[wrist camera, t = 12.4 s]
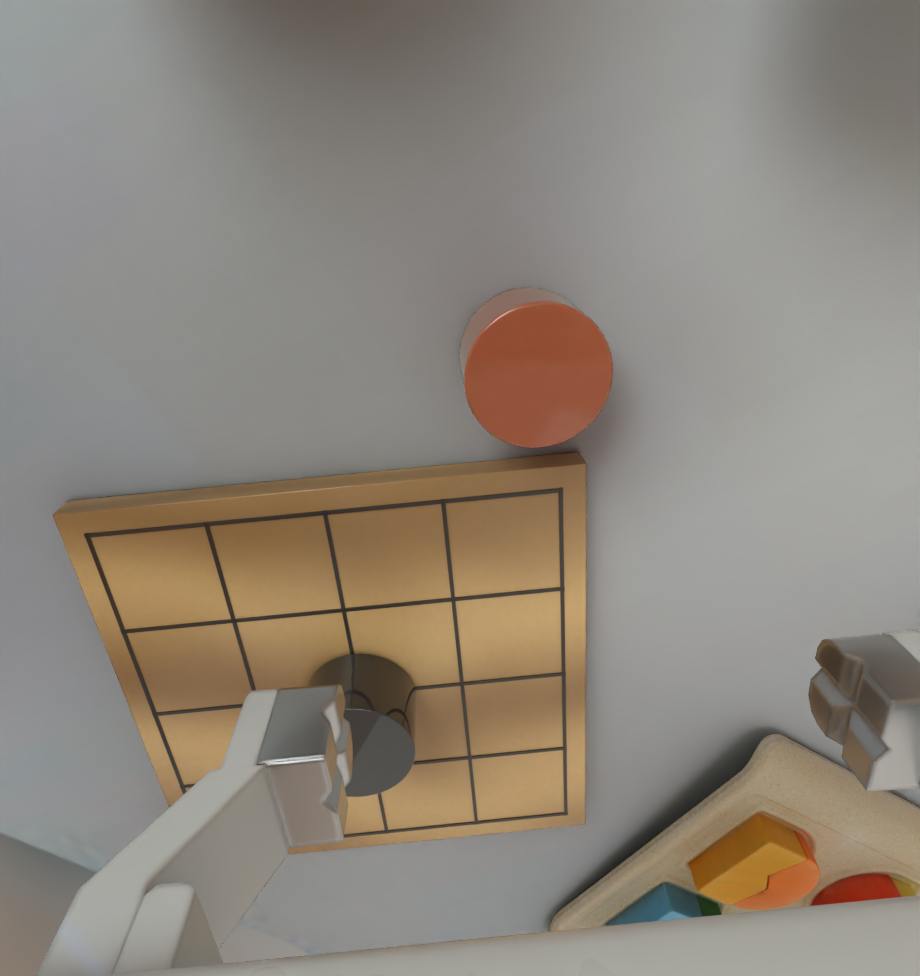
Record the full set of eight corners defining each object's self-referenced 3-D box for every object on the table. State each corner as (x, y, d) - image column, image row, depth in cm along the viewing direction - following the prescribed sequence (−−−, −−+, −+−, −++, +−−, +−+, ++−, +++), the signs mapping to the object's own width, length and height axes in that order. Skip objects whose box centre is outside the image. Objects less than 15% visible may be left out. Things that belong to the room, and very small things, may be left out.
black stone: (296, 658, 27) (281, 715, 24) (409, 647, 27) (407, 702, 24) (316, 742, 29) (304, 803, 26) (421, 731, 29) (421, 791, 26)
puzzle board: (535, 927, 38) (544, 993, 35) (758, 718, 32) (794, 776, 29) (747, 1003, 43) (772, 1067, 40) (977, 834, 36) (1029, 895, 33)
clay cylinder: (453, 293, 22) (458, 309, 19) (590, 280, 22) (615, 294, 20) (464, 423, 24) (470, 455, 22) (589, 411, 24) (612, 441, 22)
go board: (68, 500, 25) (50, 515, 24) (579, 451, 25) (587, 464, 24) (199, 842, 33) (191, 866, 32) (580, 804, 34) (585, 826, 33)
